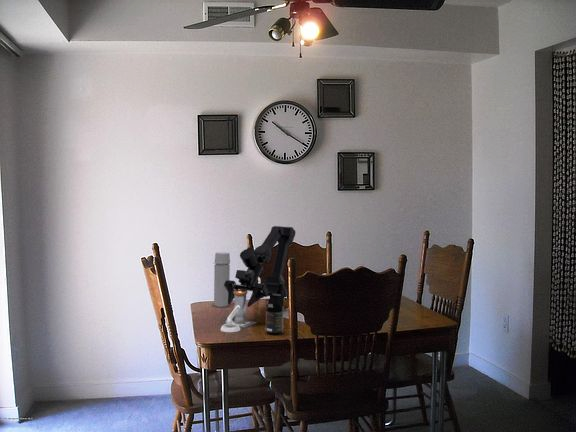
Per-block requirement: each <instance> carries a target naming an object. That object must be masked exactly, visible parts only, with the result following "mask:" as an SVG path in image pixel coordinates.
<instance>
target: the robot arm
mask: <svg viewBox="0 0 576 432" xmlns="http://www.w3.org/2000/svg"><path fill="white" fill-rule="evenodd" d="M295 237H296V230H295V229H294V227H292V226H281V225H279V226H278V225H274V226H272V227H271V230H270V232H269V234H268V235H267V236H266V238H265V239H264V241H263V242H262V243H261V245H258V246H257V247H255V248H254V249H253V247H252V246H247V248H245V249H243V250H242V251H241V252H240V253H239V257H240V259H241V261H242V263H243V264H244V266H245V267H246V268H247V269H246V270H243V269H237V270H236V272H235V276H234V277H235V279H237V280H238V283H239V284H238V283H236V281H235V280H231V279H230V280H226V281H225V283H224V286H225V288H226V289H227V291H228V304H229V305H231V304H232V302H234V294H233V291H234V290H247V292H252V294H251V296H250V299H249V300H248V303H247V304H246V307H248V308H250V307H251V306H252V305H253V304H255V303H257V301H259V300H260V299H264V298H267V297H269V298H268V304H280V305H283V312H284V311H285V310H284V300H285V299H284V298H287V297H288V293H289V292H288V290H287V288H286V286H285V285H286V282H285V279H284V276H283V275H284V272H285V271H284V270H285V266H286V261H287V256H288V251H289V246H290V245H291V244H292V243H293V242H294V239H295ZM276 244H277V249H276V255H275V258H274V263H273V268H272V272H271V274H270V275H267V277H266V282H265V283H260V280H259V278H260V275H261V273H262V274H263V273H265V269H264V266H263V265H262V264H265V265H267V264H269V262H270V260H271V259H272V250H273V249H274V247H275V245H276ZM268 304H267V305H268ZM229 305H228V306H229Z"/></svg>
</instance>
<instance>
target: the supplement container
mask: <svg viewBox="0 0 576 432" xmlns="http://www.w3.org/2000/svg"><path fill="white" fill-rule="evenodd" d="M283 307H284V304H283V305H280V304H266V305H265V333H266V334H267V335H273V336H277V335H281V334H283V333H284V311H283Z"/></svg>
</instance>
